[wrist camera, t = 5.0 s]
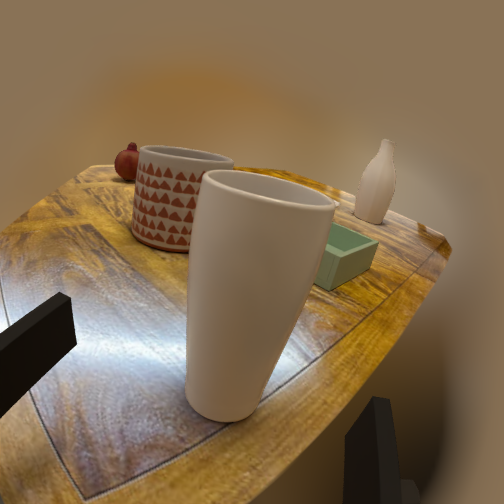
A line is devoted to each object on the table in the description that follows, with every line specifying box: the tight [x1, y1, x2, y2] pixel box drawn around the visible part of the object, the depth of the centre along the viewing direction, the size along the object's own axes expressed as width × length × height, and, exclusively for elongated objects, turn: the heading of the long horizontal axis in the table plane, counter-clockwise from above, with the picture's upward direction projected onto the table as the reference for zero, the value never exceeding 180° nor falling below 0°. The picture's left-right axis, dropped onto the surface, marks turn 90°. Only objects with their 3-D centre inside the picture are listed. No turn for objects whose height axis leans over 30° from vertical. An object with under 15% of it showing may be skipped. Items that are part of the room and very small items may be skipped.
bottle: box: [354, 139, 396, 224], centre depth 86 cm, size 11×11×25 cm
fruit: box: [115, 143, 139, 181], centre depth 72 cm, size 8×8×10 cm
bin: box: [314, 222, 379, 291], centre depth 49 cm, size 16×16×5 cm
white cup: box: [185, 170, 336, 422], centre depth 18 cm, size 7×7×15 cm
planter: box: [131, 146, 234, 252], centre depth 44 cm, size 14×14×13 cm
